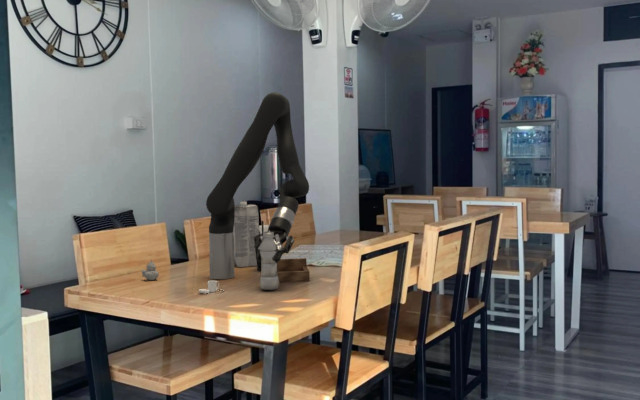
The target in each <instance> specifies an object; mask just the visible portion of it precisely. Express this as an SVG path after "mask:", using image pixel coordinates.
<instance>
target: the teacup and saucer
mask: <svg viewBox="0 0 640 400" xmlns="http://www.w3.org/2000/svg"><path fill="white" fill-rule="evenodd" d="M217 284H218V285H217ZM220 285H221V284H220V282H219V281H217V279H214V280H213V279H211V280H208V281H207V289H206V288H200V289H198V293H199V294H202V293H204V294H203V295H207V294H206V293H208V294H210V293H216V292H217V291H218V290H217V289H220V288H219V286H220ZM220 290H223V291H224V292H225V290H224V289H222V288H221V289H220ZM215 291H216V292H215Z"/></svg>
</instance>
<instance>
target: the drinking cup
mask: <svg viewBox="0 0 640 400" xmlns="http://www.w3.org/2000/svg"><path fill="white" fill-rule="evenodd" d="M261 225H262V234H260V233H259V234H260V235H261V236H263V232H264V226H263V225H264V220H261ZM253 238H254V242H256V238H257V235H256V236H254V237H253ZM255 252H256V254H257V251H256V249H255ZM256 261H257V259H256ZM256 267H257V268H256V269H257V271H258V272H261V261H260V262H258V261H257V266H256Z"/></svg>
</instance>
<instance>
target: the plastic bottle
mask: <svg viewBox="0 0 640 400" xmlns="http://www.w3.org/2000/svg"><path fill="white" fill-rule="evenodd" d="M273 237H274V232H271V231H268V232H263V238H264V240H263V241H262V243H261V244H260V247H259V249H260V256H261V271H260V278H259V279H260V280H259V285H260V288H261V290H263V291H265V290H266V291H273V290H277V289H278V288H279V285H280V282H279V278H278V273H277V263H275V261H274V257H275V255H276V253H277V251H278V245H277V243H276V242H275V240H274V239H273Z"/></svg>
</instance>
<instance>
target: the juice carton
mask: <svg viewBox="0 0 640 400" xmlns="http://www.w3.org/2000/svg"><path fill="white" fill-rule="evenodd" d="M234 206H235V221H234V228H233V233H234V266H236V267H238V268H248V267H257V261H256V252H255V247H254V245H255V242H254V238H253V237H254V236H256V235H258V234H260V231H259V226H260V224H259V223H260V221H259V218H260V217H259V216H260V215H259V206H258V205H256V204H253V203H250V204H248V202H247V201H239V204H234Z"/></svg>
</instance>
